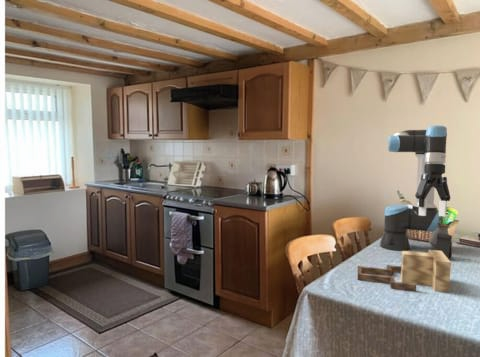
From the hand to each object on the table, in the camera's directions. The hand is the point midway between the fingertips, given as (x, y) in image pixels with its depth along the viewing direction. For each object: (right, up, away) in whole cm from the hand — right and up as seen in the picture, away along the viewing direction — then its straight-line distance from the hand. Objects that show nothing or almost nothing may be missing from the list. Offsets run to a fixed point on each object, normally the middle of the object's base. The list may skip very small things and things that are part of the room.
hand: (432, 216), depth 148 cm
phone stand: (+24, -25, +36) cm, 50 cm away
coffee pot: (+36, -23, +59) cm, 72 cm away
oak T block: (-3, -28, +2) cm, 28 cm away
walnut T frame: (-16, -27, +6) cm, 32 cm away
